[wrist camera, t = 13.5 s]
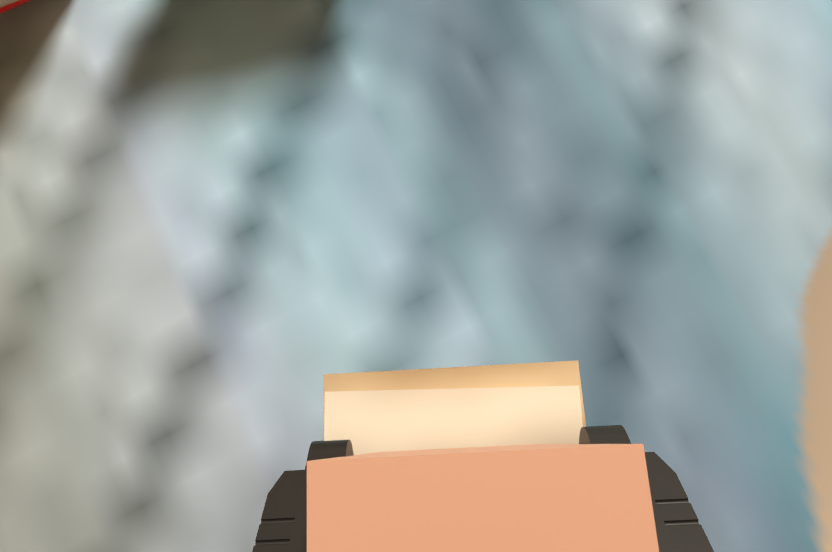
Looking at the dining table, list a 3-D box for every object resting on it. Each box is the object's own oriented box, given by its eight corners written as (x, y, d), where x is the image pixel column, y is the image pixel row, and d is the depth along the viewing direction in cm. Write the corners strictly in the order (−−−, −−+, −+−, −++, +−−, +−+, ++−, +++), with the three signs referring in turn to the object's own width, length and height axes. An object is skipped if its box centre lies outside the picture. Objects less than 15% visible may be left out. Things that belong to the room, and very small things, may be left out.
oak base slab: (584, 614, 25) (613, 650, 21) (346, 623, 25) (325, 661, 21) (557, 373, 28) (577, 360, 23) (342, 384, 28) (323, 374, 24)
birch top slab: (572, 630, 21) (606, 678, 16) (345, 631, 21) (318, 679, 17) (553, 396, 23) (579, 385, 19) (347, 401, 23) (325, 391, 19)
